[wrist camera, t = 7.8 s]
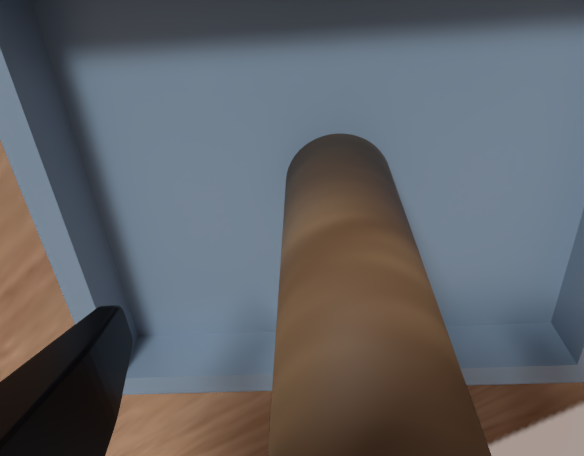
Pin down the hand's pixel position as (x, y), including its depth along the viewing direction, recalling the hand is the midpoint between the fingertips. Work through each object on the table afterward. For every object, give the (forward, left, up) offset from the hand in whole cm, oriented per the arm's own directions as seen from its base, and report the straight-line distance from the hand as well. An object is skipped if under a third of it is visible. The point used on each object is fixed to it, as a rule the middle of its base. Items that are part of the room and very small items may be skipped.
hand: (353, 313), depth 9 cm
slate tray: (0, 0, -6) cm, 6 cm away
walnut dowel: (0, 0, -6) cm, 6 cm away
